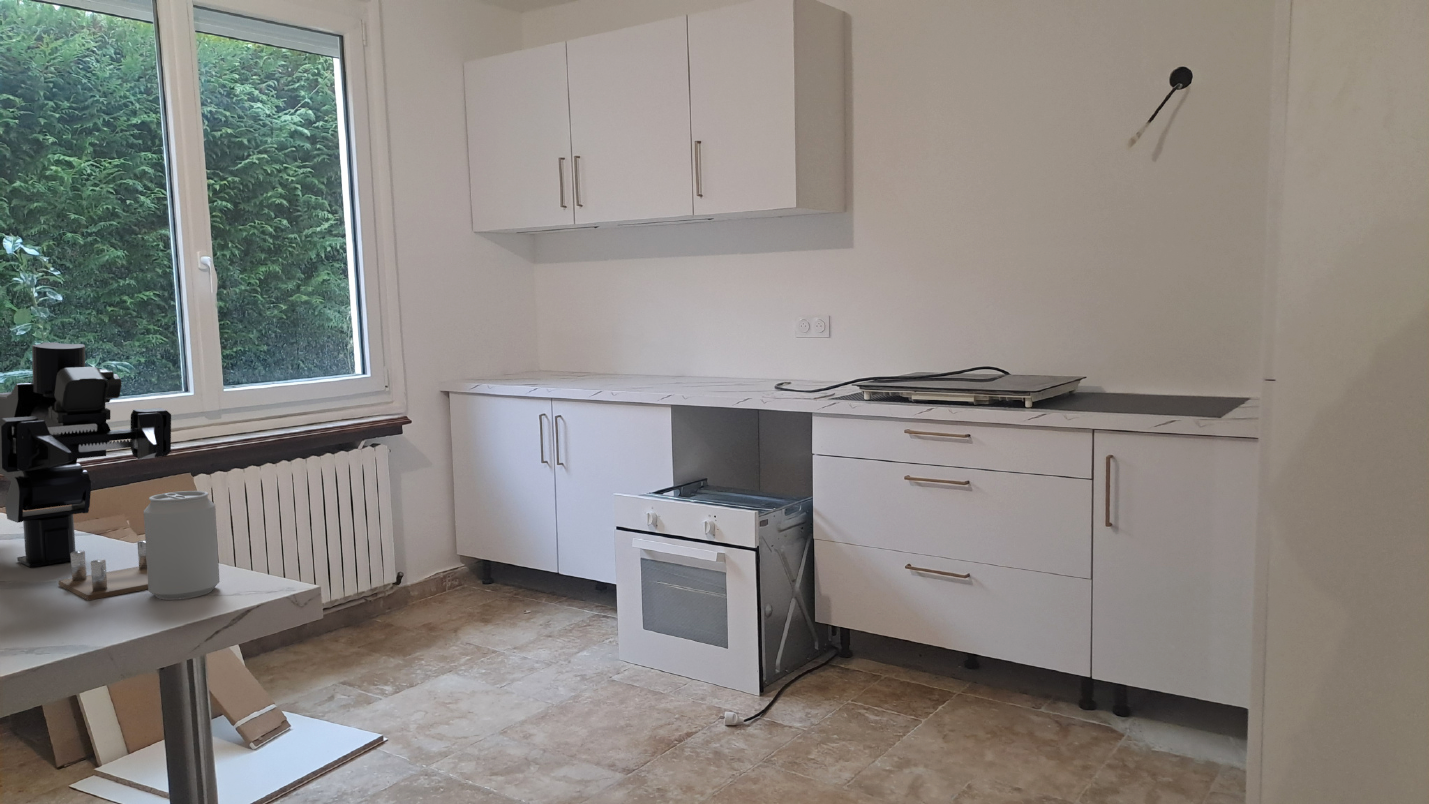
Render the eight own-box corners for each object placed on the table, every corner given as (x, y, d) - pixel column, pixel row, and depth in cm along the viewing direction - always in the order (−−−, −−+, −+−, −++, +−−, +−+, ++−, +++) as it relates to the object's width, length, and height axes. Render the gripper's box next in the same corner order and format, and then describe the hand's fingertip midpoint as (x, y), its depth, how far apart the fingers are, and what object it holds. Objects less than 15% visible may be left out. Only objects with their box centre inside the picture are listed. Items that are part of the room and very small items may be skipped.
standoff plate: (59, 585, 121) (56, 552, 120) (155, 568, 129) (153, 537, 129) (88, 600, 113) (86, 565, 113) (188, 581, 122) (186, 548, 121)
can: (189, 603, 112) (183, 499, 111) (133, 600, 113) (126, 498, 112) (233, 586, 119) (228, 488, 118) (180, 583, 121) (175, 487, 120)
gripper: (-22, 367, 118) (21, 391, 108) (145, 362, 132) (196, 383, 123) (-20, 456, 120) (22, 488, 110) (145, 442, 134) (195, 468, 125)
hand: (114, 453), depth 117 cm, fingers open, 9 cm apart
